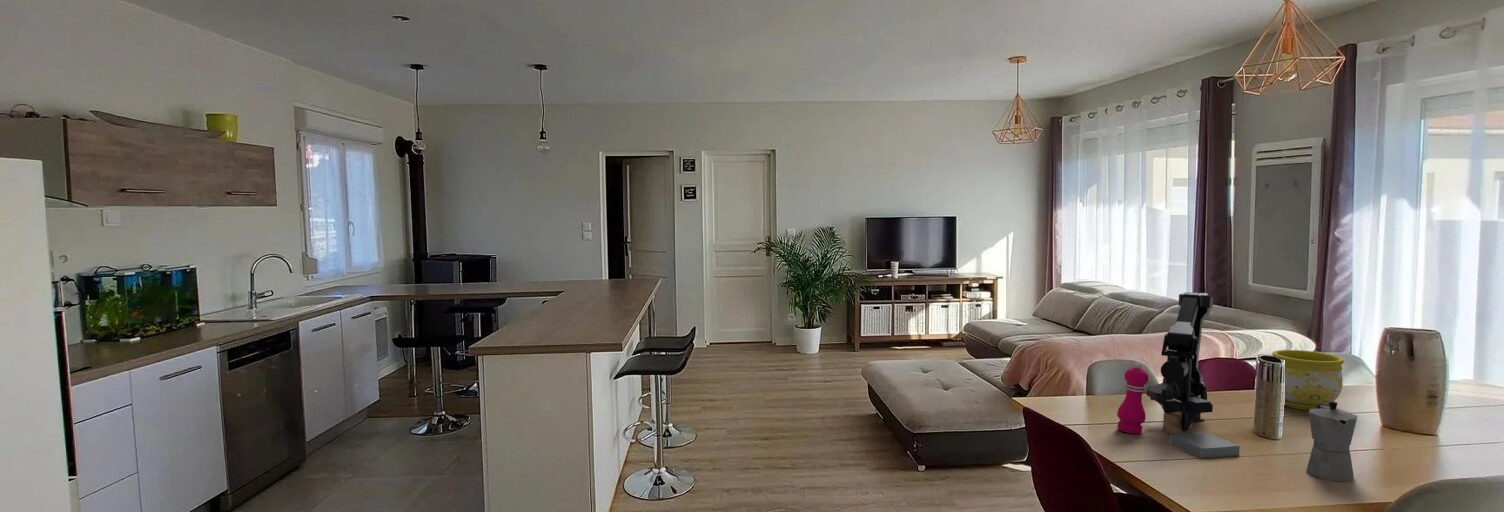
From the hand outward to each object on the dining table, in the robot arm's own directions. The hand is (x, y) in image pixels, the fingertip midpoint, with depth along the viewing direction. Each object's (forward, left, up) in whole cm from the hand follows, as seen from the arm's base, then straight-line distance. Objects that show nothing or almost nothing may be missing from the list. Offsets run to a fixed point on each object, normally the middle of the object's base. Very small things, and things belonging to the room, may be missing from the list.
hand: (1177, 428), depth 201 cm
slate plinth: (+4, +14, -1) cm, 15 cm away
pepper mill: (+13, -3, -1) cm, 13 cm away
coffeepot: (-12, +34, -1) cm, 36 cm away
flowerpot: (-59, -15, -1) cm, 61 cm away
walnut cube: (0, 0, -1) cm, 1 cm away
